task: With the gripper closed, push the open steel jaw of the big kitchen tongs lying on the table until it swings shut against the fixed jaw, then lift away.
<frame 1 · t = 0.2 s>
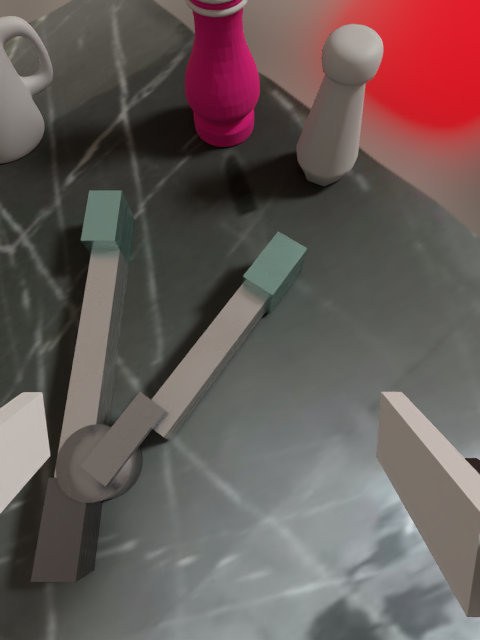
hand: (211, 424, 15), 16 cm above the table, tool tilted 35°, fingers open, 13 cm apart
tongs jaw: (207, 354, 30), point 2 cm above the table, hinge at 35.0°
pepper mill: (224, 127, 42), on the table
tongs fixed: (109, 463, 30), on the table
salt shaker: (321, 171, 40), on the table
mug: (21, 127, 42), on the table
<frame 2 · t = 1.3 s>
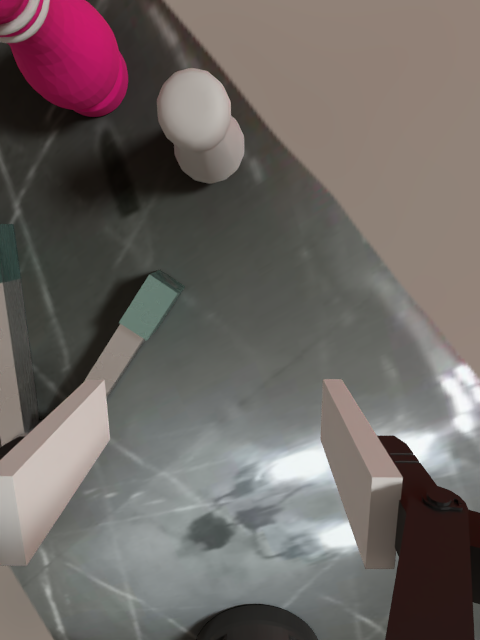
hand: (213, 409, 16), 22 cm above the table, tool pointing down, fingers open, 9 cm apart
tongs jaw: (101, 377, 37), point 2 cm above the table, hinge at 35.0°
pepper mill: (92, 78, 33), on the table
tongs fixed: (46, 441, 41), on the table
salt shaker: (212, 152, 35), on the table
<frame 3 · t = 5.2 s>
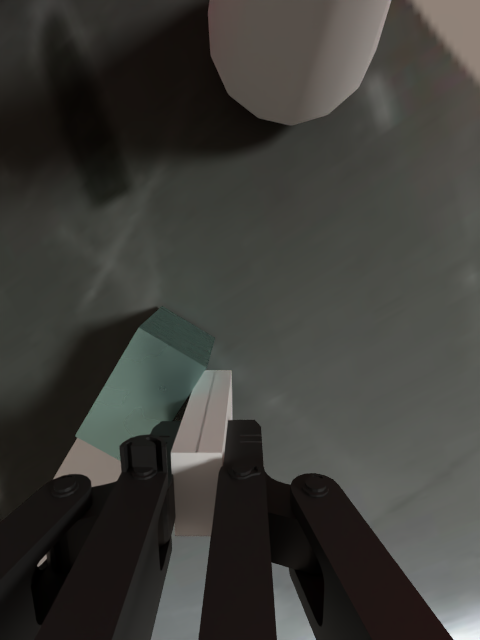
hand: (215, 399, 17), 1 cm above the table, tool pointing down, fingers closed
tongs jaw: (52, 529, 18), point 2 cm above the table, hinge at 33.3°, touching gripper
salt shaker: (285, 63, 16), on the table
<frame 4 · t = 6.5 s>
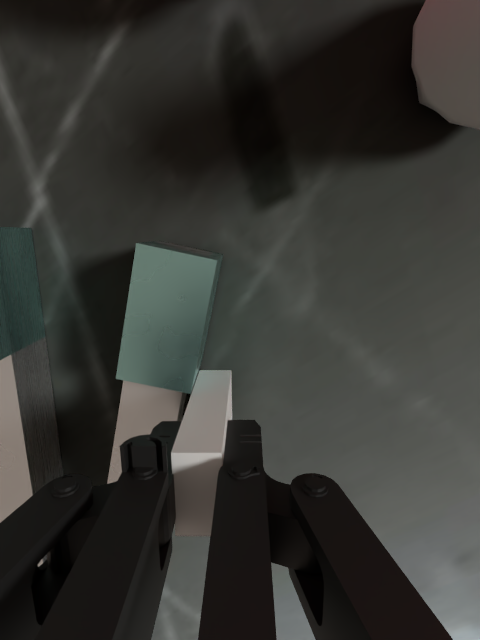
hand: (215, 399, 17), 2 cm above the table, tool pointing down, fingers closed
tongs jaw: (133, 495, 18), point 2 cm above the table, hinge at 13.2°, touching gripper
tongs fixed: (90, 626, 22), on the table
salt shaker: (458, 68, 16), on the table
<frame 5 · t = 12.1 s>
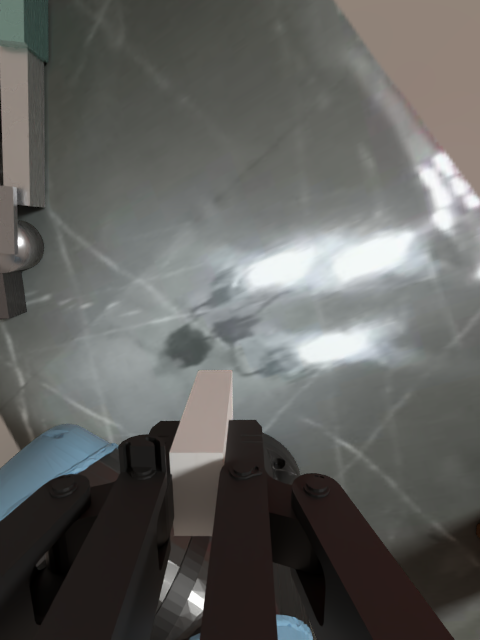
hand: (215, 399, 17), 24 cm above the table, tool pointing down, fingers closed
tongs jaw: (18, 128, 36), point 2 cm above the table, hinge at 6.5°
tongs fixed: (19, 245, 40), on the table
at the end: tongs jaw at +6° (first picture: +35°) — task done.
